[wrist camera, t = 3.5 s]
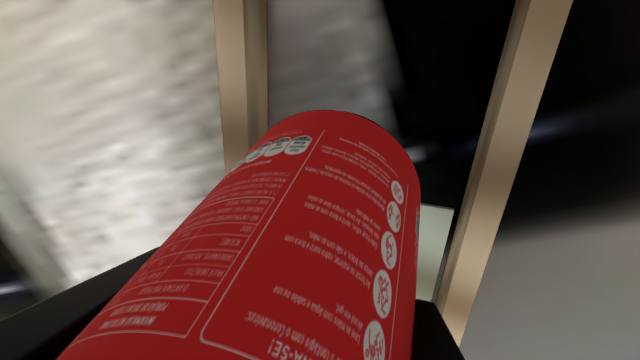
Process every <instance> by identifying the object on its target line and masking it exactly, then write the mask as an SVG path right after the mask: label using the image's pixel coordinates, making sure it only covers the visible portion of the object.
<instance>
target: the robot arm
mask: <svg viewBox="0 0 640 360" xmlns="http://www.w3.org/2000/svg"><path fill="white" fill-rule="evenodd" d="M159 248H160V247H157V248H155V249H153V250H151V251H148V252H146V253H144V254H142V255H140V256H138V257H136V258H133V259H131V260H129V261H127V262H125V263H123V264H121V265H119V266H116V267H114V268H112V269H110V270H108V271H106V272H104V273H101V274H99V275H97V276H95V277H93V278H91V279H89V280H86V281H84V282H82V283H80V284H78V285H76V286H74V287H71V288H69V289H67V290H65V291H63V292H61V293H59V294H57V295H54V296H52V297H50V298H48V299H46V300H44V301H42V302H39V303H37V304H35V305H33V306H31V307H29V308H27V309H24V310H22V311H20V312H18V313H16V314H14V315H12V316H9V317H7V318H5V319H3V320H1V321H0V360H56V359H57V358H58V357H59V355H60V354H61V353H62V352H63V351H64V350H65V349H66V348H67V347H68V346H69V345H70V344H71V343H72V341H73V340H74V339H75V338H76V337H77V336H78V335H79V334H80V333H81V332H82V331H83V330H84V328H85V327H86V326H87V325H88V324H89V323H90V322H91V321H92V320H93V319H94V318H95V317H96V316H97V314H98V313H99V312H100V311H101V310H102V309H103V308H104V307H105V306H106V305H107V304H108V303H109V301H110V300H111V299H112V298H113V297H114V296H115V295H116V294H117V293H118V292H119V291H120V290H121V289H122V287H123V286H124V285H125V284H126V283H127V282H128V281H129V280H130V279H131V278H132V277H133V276H134V274H135V273H136V272H137V271H138V270H139V269H140V268H141V267H142V266H143V265H144V264H145V263H146V262H147V260H148V259H149V258H150V257H151V256H152V255H153V254H154V253H155V252H156V251H157V250H158V249H159ZM412 360H465V359H464V357H463V355H462V353H461V351H460V349H459V348H458V346H457V344H456V342H455V340H454V338H453V336H452V334H451V332H450V331H449V329H448V327H447V325H446V323H445V321H444V319H443V317H442V315H441V314H440V312H439V310H438V308H437V306H436V304H435V303H433V302H431V301H426V300H421V299H415V312H414V325H413V341H412Z"/></svg>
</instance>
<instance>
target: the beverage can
mask: <svg viewBox="0 0 640 360" xmlns="http://www.w3.org/2000/svg"><path fill="white" fill-rule="evenodd" d="M420 204H421V191H420V184H419V179H418V175H417V172H416V170H415V167H414V165H413V163H412V161H411V159H410V157H409V156H408V154H407V153H406V151H405V150H404V148H403V147H402V146H401V145H400V144H399V143H398V142H397V140H396V139H395V138H394V137H392V136H391V135H390V134H389V133H388V132H387V131H385V130H384V129H383V128H382V127H381V126H379V125H378V124H376V123H375V122H373V121H371V120H369V119H368V118H365V117H363V116H360V115H358V114H354V113H351V112H345V111H335V110H313V111H307V112H302V113H299V114H295V115H293V116H290V117H288V118H286V119H284V120H282V121H280V122H279V123H277V124H276V125H274V126H273V127H272V128H271V129H269V130H268V131H267V132H266V133H265V134H264V135H263V136H262V137H261V139H260V140H259V141H258V142H257V143H256V144H255V145H254V146H253V147H252V148H251V149H250V150H249V151H248V153H247V154H246V155H245V156H244V157H243V158H242V159H241V160H240V161H239V162H238V163H237V164H236V165H235V167H234V168H233V169H232V170H231V171H230V172H229V173H228V174H227V175H226V176H225V177H224V178H223V180H222V181H221V182H220V183H219V184H218V185H217V186H216V187H215V188H214V189H213V190H212V191H211V192H210V194H209V195H208V196H207V197H206V198H205V199H204V200H203V201H202V202H201V203H200V204H199V205H198V206H197V208H196V209H195V210H194V211H193V212H192V213H191V214H190V215H189V216H188V217H187V218H186V219H185V221H184V222H183V223H182V224H181V225H180V226H179V227H178V228H177V229H176V230H175V231H174V232H173V233H172V235H171V236H170V237H169V238H168V239H167V240H166V241H165V242H164V243H163V244H162V245H161V246H160V248H159V249H158V250H157V251H156V252H155V253H154V254H153V255H152V256H151V257H150V258H149V259H148V260H147V262H146V263H145V264H144V265H143V266H142V267H141V268H140V269H139V270H138V271H137V272H136V273H135V274H134V276H133V277H132V278H131V279H130V280H129V281H128V282H127V283H126V284H125V285H124V286H123V287H122V289H121V290H120V291H119V292H118V293H117V294H116V295H115V296H114V297H113V298H112V299H111V300H110V301H109V303H108V304H107V305H106V306H105V307H104V308H103V309H102V310H101V311H100V312H99V313H98V314H97V316H96V317H95V318H94V319H93V320H92V321H91V322H90V323H89V324H88V325H87V326H86V327H85V328H84V330H83V331H82V332H81V333H80V334H79V335H78V336H77V337H76V338H75V339H74V340H73V341H72V343H71V344H70V345H69V346H68V347H67V348H66V349H65V350H64V351H63V352H62V353H61V354H60V355H59V357H58V358H57V359H56V360H412V341H413V325H414V312H415V299H416V284H417V264H418V244H419V224H420Z"/></svg>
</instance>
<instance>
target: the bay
mask: <svg viewBox="0 0 640 360" xmlns="http://www.w3.org/2000/svg"><path fill="white" fill-rule="evenodd" d="M572 2H573V0H516V2H515V6H514V10H513V13H512V17H511V21H510V25H509V28H508V32H507V36H506V40H505V44H504V47H503V51H502V55H501V59H500V62H499V66H498V70H497V74H496V77H495V81H494V85H493V89H492V93H491V96H490V100H489V104H488V108H487V111H486V115H485V119H484V123H483V126H482V130H481V134H480V138H479V142H478V145H477V149H476V153H475V157H474V160H473V164H472V168H471V172H470V175H469V179H468V183H467V187H466V191H465V194H464V198H463V202H462V206H461V209H460V213H459V217H458V221H457V224H456V228H455V232H454V236H453V240H452V243H451V247H450V251H449V255H448V258H447V262H446V266H445V270H444V273H443V277H442V281H441V285H440V289H439V292H438V296H437V300H436V306H437V308H438V310H439V312H440V314H441V315H442V317H443V319H444V321H445V323H446V325H447V327H448V329H449V331H450V332H451V334H452V336H453V338H454V340H455V342H456V344H457V346H458V347H459V345H460V342H461V339H462V336H463V333H464V330H465V327H466V324H467V321H468V318H469V315H470V312H471V309H472V306H473V303H474V300H475V297H476V294H477V291H478V287H479V284H480V281H481V278H482V275H483V272H484V269H485V266H486V263H487V260H488V257H489V254H490V251H491V248H492V245H493V242H494V239H495V236H496V233H497V230H498V227H499V224H500V221H501V218H502V214H503V211H504V208H505V205H506V202H507V199H508V196H509V193H510V190H511V187H512V184H513V181H514V178H515V175H516V172H517V169H518V166H519V163H520V160H521V157H522V154H523V151H524V148H525V144H526V141H527V138H528V135H529V132H530V129H531V126H532V123H533V120H534V117H535V114H536V111H537V108H538V105H539V102H540V99H541V96H542V93H543V90H544V87H545V84H546V81H547V78H548V75H549V71H550V68H551V65H552V62H553V59H554V56H555V53H556V50H557V47H558V44H559V41H560V38H561V35H562V32H563V29H564V26H565V23H566V20H567V17H568V14H569V11H570V8H571V5H572ZM213 8H214V21H215V35H216V49H217V63H218V77H219V91H220V104H221V118H222V132H223V146H224V160H225V173H226V175H227V174H228V173H229V172H230V171H231V170H232V169H233V168H234V167H235V165H236V164H237V163H238V162H239V161H240V160H241V159H242V158H243V157H244V156H245V155H246V154H247V153H248V151H249V150H250V149H251V148H252V147H253V146H254V145H255V144H256V143H257V142H258V141H259V140H260V139H261V137H262V136H263V135H264V134H265V133H266V132H267V131H268V83H267V5H266V0H213ZM453 214H454V208H449V207H443V206H437V205H431V204H425V203H421V204H420V224H419V244H418V264H417V284H416V299H421V300H426V301H431V299H432V295H433V291H434V288H435V284H436V280H437V276H438V272H439V268H440V264H441V260H442V256H443V252H444V249H445V245H446V241H447V237H448V233H449V229H450V225H451V221H452V217H453Z"/></svg>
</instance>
